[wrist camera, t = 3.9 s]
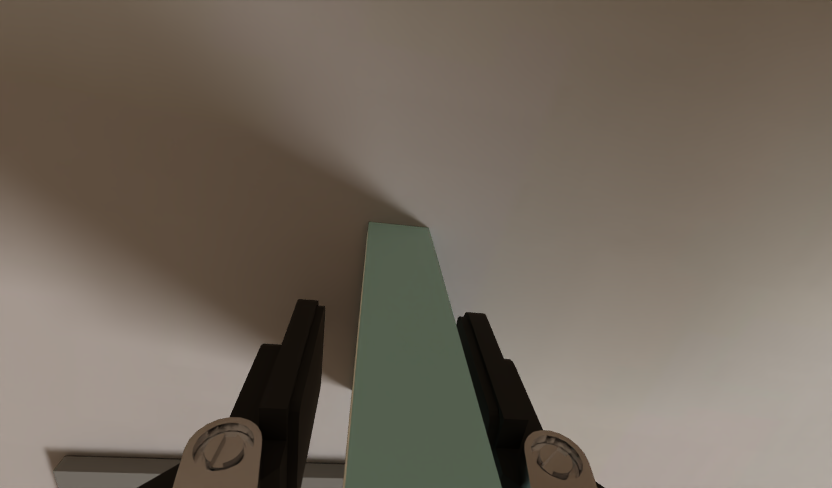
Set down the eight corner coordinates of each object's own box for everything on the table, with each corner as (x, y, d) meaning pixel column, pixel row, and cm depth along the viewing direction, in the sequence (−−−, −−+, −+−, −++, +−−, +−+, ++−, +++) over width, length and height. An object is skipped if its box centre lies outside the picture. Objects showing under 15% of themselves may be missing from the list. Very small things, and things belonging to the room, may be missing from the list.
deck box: (428, 228, 12) (523, 561, 4) (402, 393, 15) (425, 804, 7) (368, 221, 12) (335, 560, 4) (351, 390, 15) (311, 813, 6)
